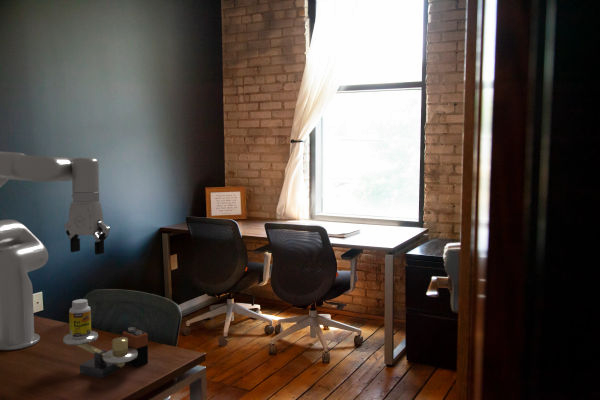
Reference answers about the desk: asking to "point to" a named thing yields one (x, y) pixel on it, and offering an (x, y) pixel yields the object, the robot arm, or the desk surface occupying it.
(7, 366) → the desk surface
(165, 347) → the desk surface
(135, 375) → the desk surface
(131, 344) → the battery
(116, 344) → the brass weight
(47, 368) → the desk surface
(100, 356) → the balance
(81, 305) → the supplement bottle
